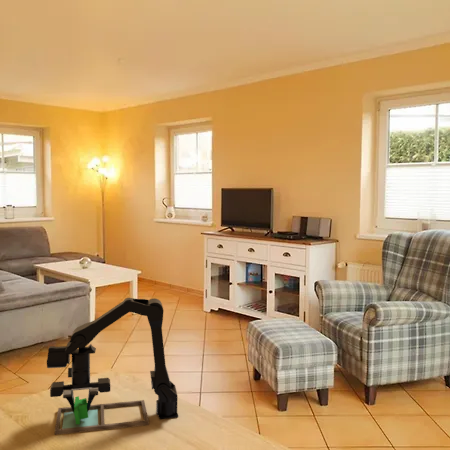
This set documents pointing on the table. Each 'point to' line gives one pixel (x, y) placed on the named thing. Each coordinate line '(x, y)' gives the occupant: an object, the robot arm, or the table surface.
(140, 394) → the table surface
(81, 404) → the pipe clamp
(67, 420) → the sorting frame
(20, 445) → the table surface
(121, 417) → the table surface
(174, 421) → the table surface
